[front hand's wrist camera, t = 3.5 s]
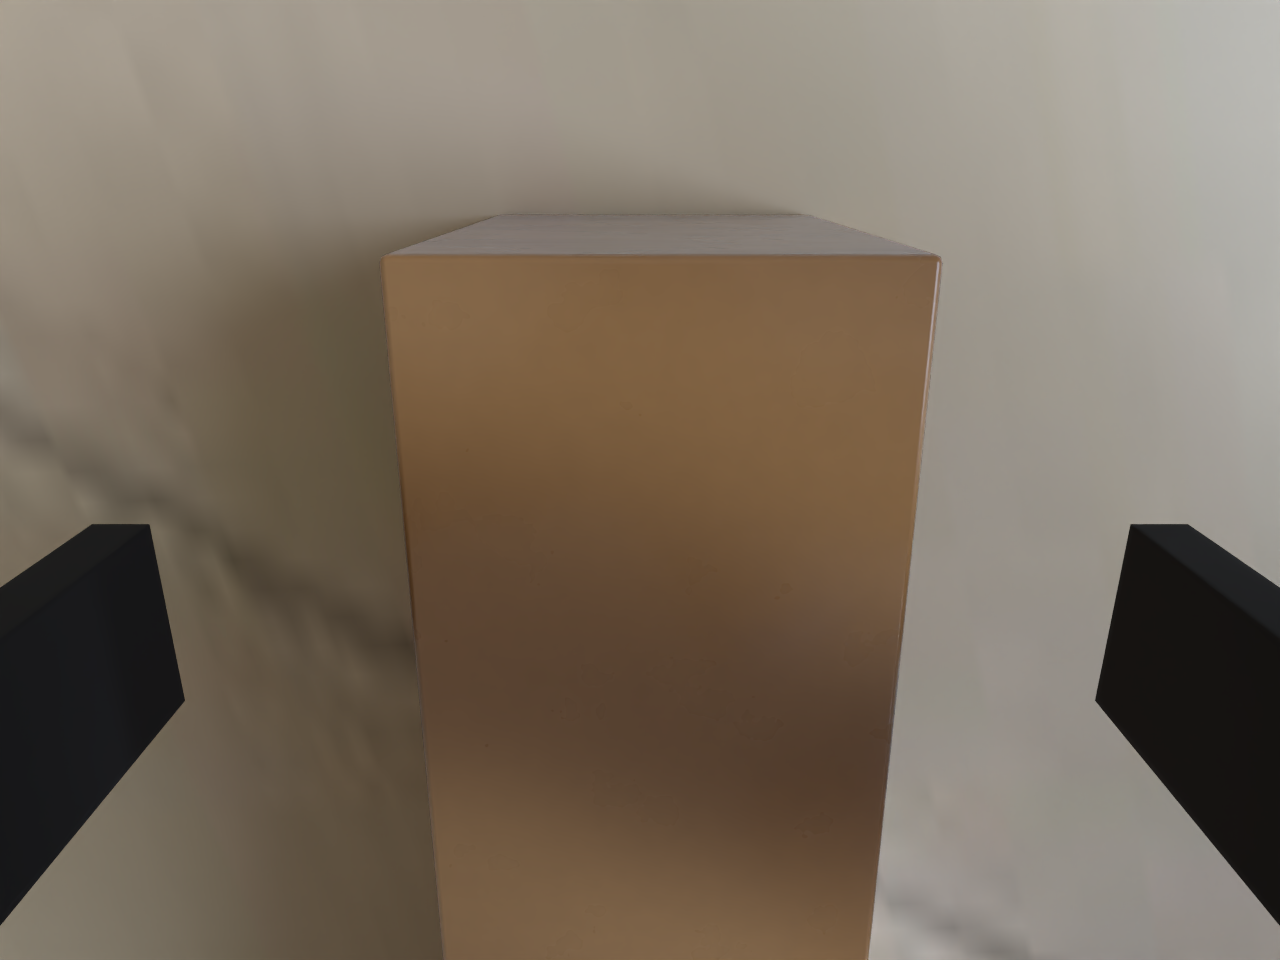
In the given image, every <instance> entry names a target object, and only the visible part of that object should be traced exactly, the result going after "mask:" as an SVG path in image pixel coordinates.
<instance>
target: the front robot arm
mask: <svg viewBox="0 0 1280 960" xmlns="http://www.w3.org/2000/svg"><path fill="white" fill-rule="evenodd" d="M184 701H185V699H184V694H183V689H182V684H181V679H180V674H179V669H178V664H177V659H176V654H175V649H174V644H173V639H172V634H171V629H170V624H169V619H168V615H167V610H166V605H165V600H164V595H163V590H162V585H161V580H160V575H159V570H158V565H157V560H156V555H155V550H154V545H153V540H152V535H151V530H150V525H149V524H92V525H90V526H89V527H87V528H86V529H85V530H83V531H82V532H80V533H79V534H77V535H76V536H74V537H73V538H72V539H70V540H69V541H67V542H66V543H64V544H63V545H61V546H60V547H58V548H57V549H56V550H54V551H53V552H51V553H50V554H48V555H47V556H45V557H44V558H43V559H41V560H40V561H38V562H37V563H35V564H34V565H32V566H31V567H29V568H28V569H27V570H25V571H24V572H22V573H21V574H19V575H18V576H16V577H15V578H14V579H12V580H11V581H9V582H8V583H6V584H5V585H3V586H2V587H1V588H0V925H1V924H2V923H3V922H4V920H5V919H6V918H7V917H8V915H9V914H10V913H11V912H12V911H13V909H14V908H15V907H16V906H17V905H18V903H19V902H20V901H21V900H22V898H23V897H24V896H25V895H26V894H27V892H28V891H29V890H30V889H31V887H32V886H33V885H34V884H35V883H36V881H37V880H38V879H39V878H40V876H41V875H42V874H43V873H44V872H45V870H46V869H47V868H48V867H49V866H50V864H51V863H52V862H53V861H54V859H55V858H56V857H57V856H58V855H59V853H60V852H61V851H62V850H63V848H64V847H65V846H66V845H67V844H68V842H69V841H70V840H71V839H72V837H73V836H74V835H75V834H76V833H77V831H78V830H79V829H80V828H81V827H82V825H83V824H84V823H85V822H86V820H87V819H88V818H89V817H90V816H91V814H92V813H93V812H94V811H95V809H96V808H97V807H98V806H99V805H100V803H101V802H102V801H103V800H104V799H105V797H106V796H107V795H108V794H109V792H110V791H111V790H112V789H113V788H114V786H115V785H116V784H117V783H118V781H119V780H120V779H121V778H122V777H123V775H124V774H125V773H126V772H127V770H128V769H129V768H130V767H131V766H132V764H133V763H134V762H135V761H136V760H137V758H138V757H139V756H140V755H141V753H142V752H143V751H144V750H145V749H146V747H147V746H148V745H149V744H150V742H151V741H152V740H153V739H154V738H155V736H156V735H157V734H158V733H159V732H160V730H161V729H162V728H163V727H164V725H165V724H166V723H167V722H168V721H169V719H170V718H171V717H172V716H173V714H174V713H175V712H176V711H177V710H178V708H179V707H180V706H181V705H182V703H183V702H184ZM1095 701H1096V702H1097V703H1098V705H1099V706H1100V707H1101V708H1102V710H1103V711H1104V712H1105V713H1106V714H1107V716H1108V717H1109V718H1110V719H1111V721H1112V722H1113V723H1114V724H1115V725H1116V727H1117V728H1118V729H1119V730H1120V732H1121V733H1122V734H1123V735H1124V736H1125V738H1126V739H1127V740H1128V741H1129V742H1130V744H1131V745H1132V746H1133V747H1134V749H1135V750H1136V751H1137V752H1138V753H1139V755H1140V756H1141V757H1142V758H1143V760H1144V761H1145V762H1146V763H1147V764H1148V766H1149V767H1150V768H1151V769H1152V770H1153V772H1154V773H1155V774H1156V775H1157V777H1158V778H1159V779H1160V780H1161V781H1162V783H1163V784H1164V785H1165V786H1166V788H1167V789H1168V790H1169V791H1170V792H1171V794H1172V795H1173V796H1174V797H1175V799H1176V800H1177V801H1178V802H1179V803H1180V805H1181V806H1182V807H1183V808H1184V809H1185V811H1186V812H1187V813H1188V814H1189V816H1190V817H1191V818H1192V819H1193V820H1194V822H1195V823H1196V824H1197V825H1198V827H1199V828H1200V829H1201V830H1202V831H1203V833H1204V834H1205V835H1206V836H1207V838H1208V839H1209V840H1210V841H1211V842H1212V844H1213V845H1214V846H1215V847H1216V848H1217V850H1218V851H1219V852H1220V853H1221V855H1222V856H1223V857H1224V858H1225V859H1226V861H1227V862H1228V863H1229V864H1230V866H1231V867H1232V868H1233V869H1234V870H1235V872H1236V873H1237V874H1238V875H1239V876H1240V878H1241V879H1242V880H1243V881H1244V883H1245V884H1246V885H1247V886H1248V887H1249V889H1250V890H1251V891H1252V892H1253V894H1254V895H1255V896H1256V897H1257V898H1258V900H1259V901H1260V902H1261V903H1262V905H1263V906H1264V907H1265V908H1266V909H1267V911H1268V912H1269V913H1270V914H1271V915H1272V917H1273V918H1274V919H1275V920H1276V922H1277V923H1278V924H1279V925H1280V588H1279V587H1278V586H1277V585H1275V584H1274V583H1272V582H1271V581H1269V580H1268V579H1266V578H1265V577H1264V576H1262V575H1261V574H1259V573H1258V572H1256V571H1255V570H1253V569H1252V568H1251V567H1249V566H1248V565H1246V564H1245V563H1243V562H1242V561H1240V560H1239V559H1237V558H1236V557H1235V556H1233V555H1232V554H1230V553H1229V552H1227V551H1226V550H1224V549H1223V548H1222V547H1220V546H1219V545H1217V544H1216V543H1214V542H1213V541H1211V540H1210V539H1208V538H1207V537H1206V536H1204V535H1203V534H1201V533H1200V532H1198V531H1197V530H1195V529H1194V528H1193V527H1191V526H1190V525H1188V524H1131V525H1130V530H1129V535H1128V540H1127V545H1126V550H1125V555H1124V560H1123V565H1122V570H1121V575H1120V580H1119V585H1118V590H1117V595H1116V600H1115V605H1114V610H1113V614H1112V619H1111V624H1110V629H1109V634H1108V639H1107V644H1106V649H1105V654H1104V659H1103V664H1102V669H1101V674H1100V679H1099V684H1098V689H1097V694H1096V699H1095Z"/></svg>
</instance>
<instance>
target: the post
mask: <svg viewBox="0 0 1280 960" xmlns="http://www.w3.org/2000/svg"><path fill="white" fill-rule="evenodd" d="M379 264H380V275H381V286H382V297H383V308H384V319H385V330H386V341H387V351H388V362H389V373H390V384H391V395H392V406H393V417H394V428H395V439H396V450H397V460H398V471H399V482H400V493H401V504H402V515H403V526H404V537H405V548H406V559H407V569H408V580H409V591H410V602H411V613H412V624H413V635H414V646H415V657H416V668H417V679H418V689H419V700H420V711H421V722H422V733H423V744H424V755H425V766H426V777H427V788H428V798H429V809H430V820H431V831H432V842H433V853H434V864H435V875H436V886H437V897H438V907H439V918H440V929H441V940H442V951H443V960H868V958H869V948H870V939H871V929H872V920H873V911H874V901H875V892H876V883H877V873H878V864H879V854H880V845H881V836H882V826H883V817H884V808H885V798H886V789H887V779H888V770H889V761H890V751H891V742H892V733H893V723H894V714H895V704H896V695H897V686H898V676H899V667H900V658H901V648H902V639H903V629H904V620H905V611H906V601H907V592H908V583H909V573H910V564H911V554H912V545H913V536H914V526H915V517H916V508H917V498H918V489H919V479H920V470H921V461H922V451H923V442H924V433H925V423H926V414H927V404H928V395H929V386H930V376H931V367H932V358H933V348H934V339H935V329H936V320H937V311H938V301H939V292H940V283H941V273H942V264H943V263H942V260H941V257H940V256H938V255H935V254H932V253H929V252H926V251H923V250H919V249H916V248H913V247H910V246H907V245H903V244H900V243H897V242H894V241H891V240H887V239H884V238H881V237H878V236H875V235H871V234H868V233H865V232H862V231H859V230H855V229H852V228H849V227H846V226H843V225H839V224H836V223H833V222H830V221H827V220H823V219H820V218H817V217H814V216H811V215H498V216H495V217H493V218H490V219H487V220H484V221H481V222H478V223H475V224H472V225H469V226H467V227H464V228H461V229H458V230H455V231H452V232H449V233H446V234H443V235H440V236H438V237H435V238H432V239H429V240H426V241H423V242H420V243H417V244H414V245H411V246H409V247H406V248H403V249H400V250H397V251H394V252H391V253H388V254H386V255H384V256H381V259H380V262H379Z"/></svg>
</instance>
